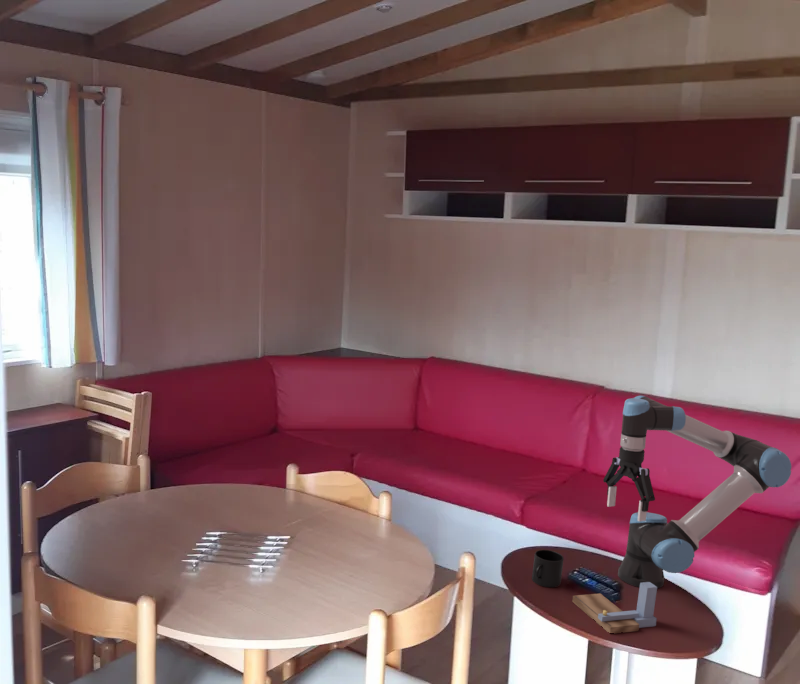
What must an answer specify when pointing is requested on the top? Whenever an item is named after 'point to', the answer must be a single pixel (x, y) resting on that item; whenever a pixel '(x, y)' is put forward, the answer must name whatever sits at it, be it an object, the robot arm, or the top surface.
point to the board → (596, 605)
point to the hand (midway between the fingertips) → (625, 513)
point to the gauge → (638, 608)
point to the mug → (547, 568)
